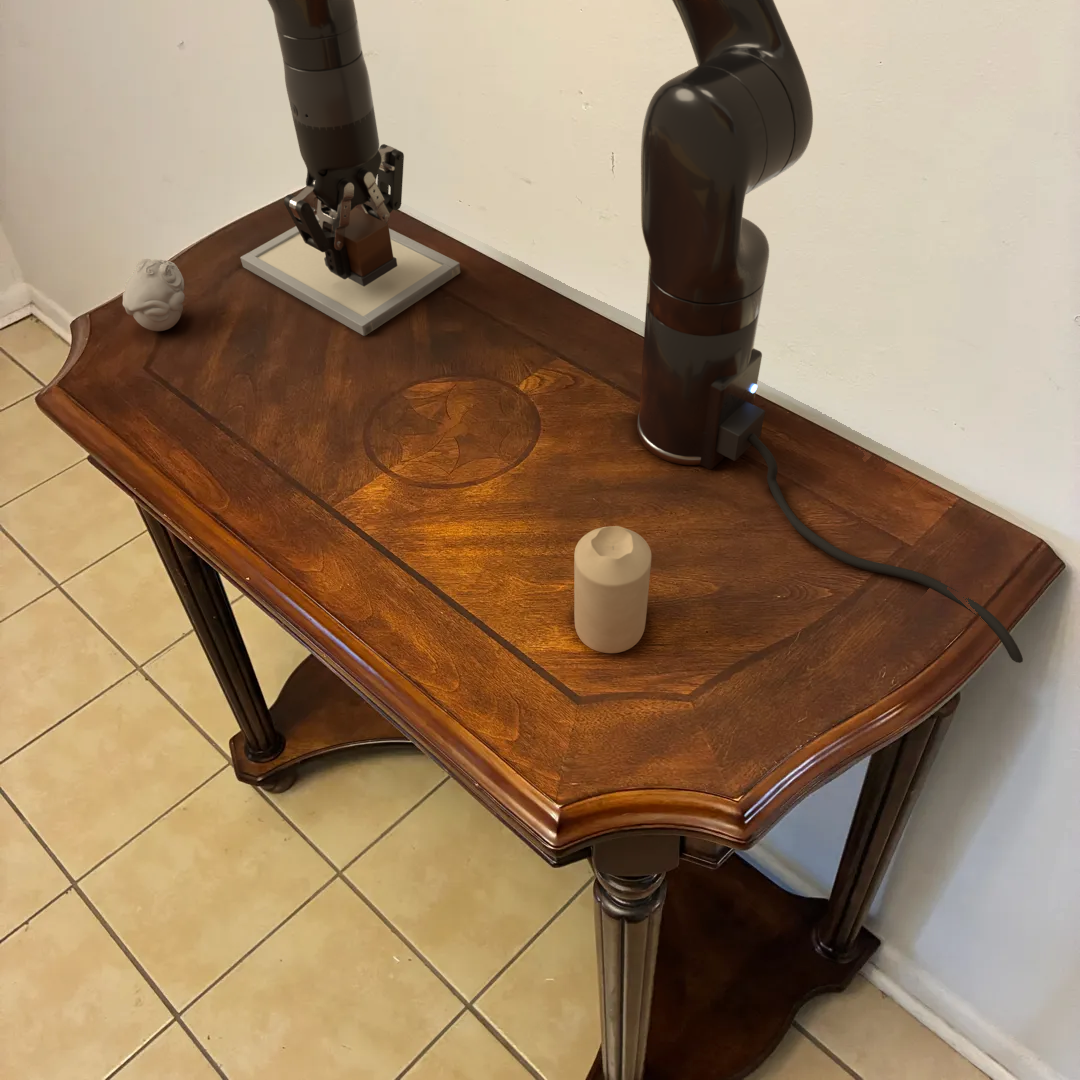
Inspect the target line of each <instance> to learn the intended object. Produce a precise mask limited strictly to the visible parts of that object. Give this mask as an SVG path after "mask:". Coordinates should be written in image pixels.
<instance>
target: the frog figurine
mask: <svg viewBox="0 0 1080 1080" xmlns="http://www.w3.org/2000/svg"><path fill="white" fill-rule="evenodd" d="M135 265H136V268H134V270H133V271H132V273H131V274H130V276H129V277H128V279H127V280H126V282H125V285H124V291H123V293H122V307H123V308H124V309H125V312H126V314H127V315H129V316H132V317H133V318H134V320H135V321H136V322H137V324H139V326H141V327H143V328H145V329H146V330H150V331H154V332H163V331H167V330H169V329H172V328H173V327H174V326H175V325H176V324H178V322H179V320H180V318H181V316H182V314H183V313H182V312H183V311H184V304H183V303H184V302H185V300H186V299H185V298H186V295H185V293H184V291H185V279H184V277H183V274H182V272H181V271H180V269H179V268H178V267H179V266H177V265H176V264H175V262H172V261H170V260H165V259H164V260H163V259H149V258H142V259H139V260H138V261H137V262H136V264H135Z"/></svg>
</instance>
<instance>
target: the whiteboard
mask: <svg viewBox="0 0 1080 1080" xmlns="http://www.w3.org/2000/svg"><path fill="white" fill-rule="evenodd" d="M331 210H332V209H331ZM332 212H334V213H336V214H337V212H336V211H334V210H332ZM315 216H316V218H317V220H318V222H319V224H320V220H319V218H318V216H317V214H315ZM389 232H390V239H391V245H392V252H393V257H395V258H396V260H397V267H395V268H393V269H392V270H390V271H389V272H387V273H385V274H384V275H382V276H380V277H379V278H377V279H376V280H374V281H372V282H371V283H369V284H368V285H366V286H362V285H360V284H358V283H356V282H354V281H353V280H351V279H349V278H347V279H343V278H341V277H339V276H337V275H336V274H334V273H332V272H331V271H330V270H329V269H328V267H327V266H326V265H325V260H324V258H325V257H326V255H325V252H321V251H319V250H317V249H315V248H314V247H312V246H310V245H308V244H306V243H305V242H304V240H303V238H302V236H301V234H300V232H299V231H298V229H297V227H296V225H295V226H293V227H291V228H290V229H288V230H286V231H285V232H283V233H281V234H279V235H277V236H275V237H274V238H272V239H270V240H269V241H267V242H265V243H263V244H261V245H260V246H258V247H256V248H254V249H253V250H250V251H249V252H247V253H245V254H243V255H242V256H240V262H241V264H242V268H244V269H245V270H247V271H249V272H251V273H252V274H254V275H256V276H258V277H259V278H262V279H263V280H265V281H267V282H269V283H270V284H272V285H273V286H275V287H276V288H279V289H281V290H283V291H284V292H286V293H288V294H290V295H291V296H293V297H294V298H297V300H298V299H299V301H302V302H304V303H305V304H307V305H309V306H311V307H312V308H314V309H316V310H317V311H320V312H321V313H323V314H325V315H326V316H328V317H329V318H332V319H333V320H335V321H336V322H338V323H340V324H342V325H344V326H346V327H347V328H349V329H351V330H353V331H354V332H356V333H358V334H359V335H362V336H364V337H365V336H367V335H368V334H370V333H371V332H373V331H374V330H377V329H378V328H379V327H380V326H382V325H383V324H385V323H387V322H388V321H390V320H391V319H393V318H394V317H396V316H397V315H399V314H401V313H402V312H403V311H405V310H407V309H408V308H410V307H412V306H413V305H414V304H415V303H417V302H419V301H420V300H422V299H423V298H425V297H426V296H428V295H429V294H431V293H432V292H434V291H435V290H437V289H438V288H440V287H441V286H443V285H444V284H446V283H447V282H449V281H450V280H452V279H453V278H455V277H457V276H458V275H459V274H461V265H460V262H459V261H458V260H454V259H452V258H451V257H449V256H446V255H444V254H442V253H440V252H438V251H437V250H434V249H432V248H430V247H428V246H427V245H424V244H422V243H420V242H418V241H416V240H414V239H413V238H409V237H408V236H406V235H404V234H402V233H399V232H398V231H395V230H394V229H392V228H389Z"/></svg>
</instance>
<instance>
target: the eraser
mask: <svg viewBox="0 0 1080 1080" xmlns="http://www.w3.org/2000/svg"><path fill="white" fill-rule="evenodd" d="M389 226H390V225H389V223H388V222H387V223H385V222H383V221H381V220H379V219H377V218H375V217H373V216H371V215H369V214H367V213H365V211H364V210H361V209H359V208H357V207H356V206H355V207H354V208H353V209H352V210H351V211H350V219H349V225H348V226H347V227H346V228H345V237H344V246H346V250H347V256H348V261H349V266H350V271H351V276H350V277H348V278H349V279H351V280H353V281H354V282H356V283H358V284H360V285H362V286H366V285H368V284H369V283H371V282H372V281H374V280H376V279H377V278H379V277H380V276H382V275H384V274H385V273H387V272H389V271H390V270H392V269H393V268H395V267H397V260H396V258H395V257H393V252H392V245H391V239H390V232H389V229H390V227H389ZM331 233H333V227H332V230H331ZM324 260H325V265H326V266H327V267H328V265H327V264H328V263H327V260H326V257H325V258H324Z"/></svg>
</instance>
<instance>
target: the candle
mask: <svg viewBox="0 0 1080 1080" xmlns="http://www.w3.org/2000/svg"><path fill="white" fill-rule="evenodd" d="M573 553H574V555H573V556H574V557H573V558H574V559H573V561H574V562H573V563H574V565H573V568H574V569H573V573H574V574H573V578H574V579H573V581H574V582H573V583H574V586H573V588H574V589H573V592H574V593H573V595H574V596H573V597H574V598H573V599H574V600H573V601H574V604H573V605H574V606H573V607H574V609H573V610H574V614H573V615H574V619H573V620H574V628H575V632H576V634H577V636H578V638H579V639H580V641H581V642H582V643H583V644H584V645H585V646H587V647H588V648H590V649H591V650H594V651H595V652H598V653H605V654H618V653H622V652H626V651H628V650H630V649H631V648H633V647H634V646H635V645H637V644H638V643H639V641H641V639H642V637H643V635H644V632H645V630H646V629H645V628H646V622H647V611H648V601H649V590H650V581H651V580H650V578H651V569H652V551H651V547H650V545H649V543H648V542H647V541H646V540H645V539H644V537H643V536H641V535H640V534H639V533H638V532H635V531H634V530H632V529H629V528H626V527H622V526H620V525H613V526H612V525H611V526H602V527H598V528H595V529H593V530H591V531H589V532H587V533H585V534H584V535H583V536H582V537H580V539H579V540H578V542H577V543H576V546H575V549H574V552H573Z"/></svg>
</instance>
